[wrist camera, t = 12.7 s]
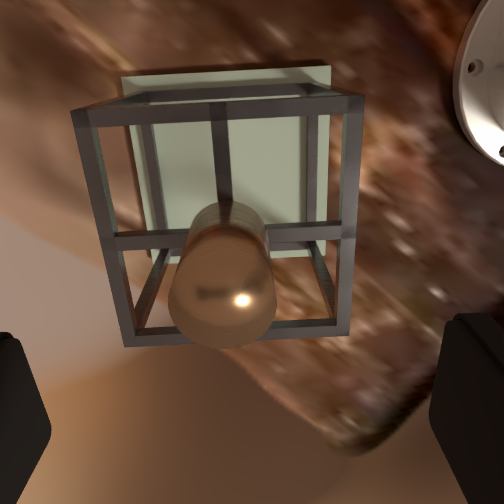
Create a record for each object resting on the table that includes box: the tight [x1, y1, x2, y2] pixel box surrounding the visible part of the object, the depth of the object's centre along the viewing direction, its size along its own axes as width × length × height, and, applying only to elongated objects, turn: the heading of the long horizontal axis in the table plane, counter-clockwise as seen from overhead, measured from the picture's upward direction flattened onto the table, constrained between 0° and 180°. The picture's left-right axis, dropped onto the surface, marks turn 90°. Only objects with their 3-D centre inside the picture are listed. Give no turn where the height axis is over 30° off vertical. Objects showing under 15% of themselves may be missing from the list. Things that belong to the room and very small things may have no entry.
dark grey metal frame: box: [70, 82, 365, 349], centre depth 19 cm, size 10×10×15 cm
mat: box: [121, 66, 331, 264], centre depth 26 cm, size 12×12×1 cm
